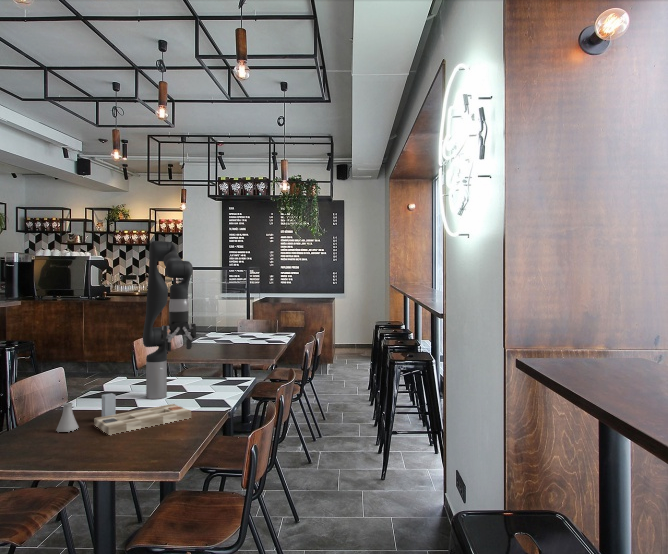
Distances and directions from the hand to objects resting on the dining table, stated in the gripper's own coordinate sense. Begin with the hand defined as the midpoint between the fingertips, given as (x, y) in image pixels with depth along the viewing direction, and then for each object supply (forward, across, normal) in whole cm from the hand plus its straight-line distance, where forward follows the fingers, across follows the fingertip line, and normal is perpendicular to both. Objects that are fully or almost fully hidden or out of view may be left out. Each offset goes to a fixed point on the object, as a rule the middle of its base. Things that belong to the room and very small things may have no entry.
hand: (178, 350), depth 200 cm
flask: (+28, +37, -14) cm, 48 cm away
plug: (+28, +21, -18) cm, 39 cm away
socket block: (+28, +12, -5) cm, 30 cm away
